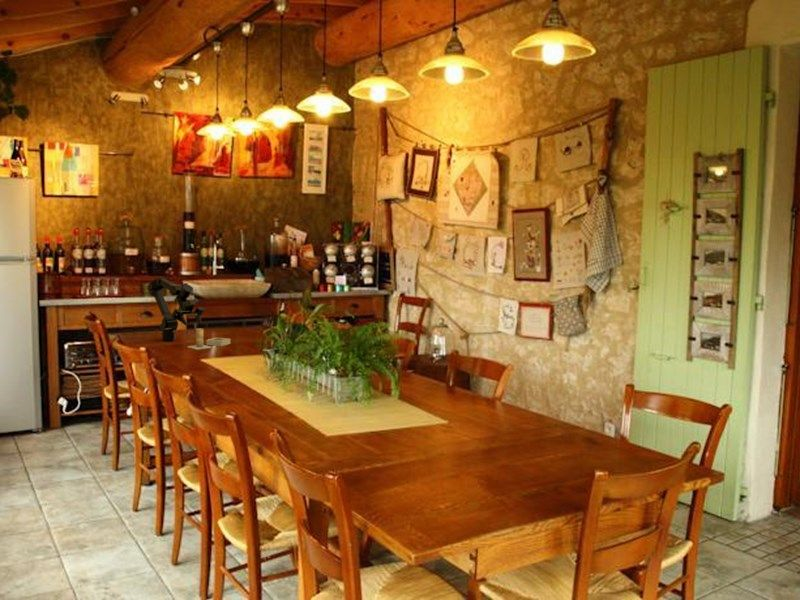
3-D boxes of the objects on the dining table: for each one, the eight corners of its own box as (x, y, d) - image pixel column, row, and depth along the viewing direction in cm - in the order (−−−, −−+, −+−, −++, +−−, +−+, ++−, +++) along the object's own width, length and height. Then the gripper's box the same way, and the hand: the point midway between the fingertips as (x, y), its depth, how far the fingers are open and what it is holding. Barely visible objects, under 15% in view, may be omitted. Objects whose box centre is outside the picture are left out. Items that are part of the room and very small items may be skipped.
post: (194, 346, 443) (194, 329, 442) (200, 345, 446) (201, 328, 445) (198, 347, 440) (198, 329, 439) (204, 346, 443) (204, 329, 442)
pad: (187, 347, 443) (187, 346, 443) (202, 345, 450) (202, 344, 450) (196, 349, 436) (196, 348, 436) (212, 348, 443) (212, 347, 443)
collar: (206, 344, 453) (206, 339, 453) (215, 342, 463) (215, 337, 463) (221, 346, 450) (221, 341, 450) (230, 343, 460) (230, 338, 460)
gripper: (174, 295, 441) (184, 316, 435) (203, 293, 455) (213, 314, 448) (166, 307, 447) (176, 328, 441) (195, 305, 461) (205, 326, 455)
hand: (193, 324), depth 446 cm, fingers open, 9 cm apart
